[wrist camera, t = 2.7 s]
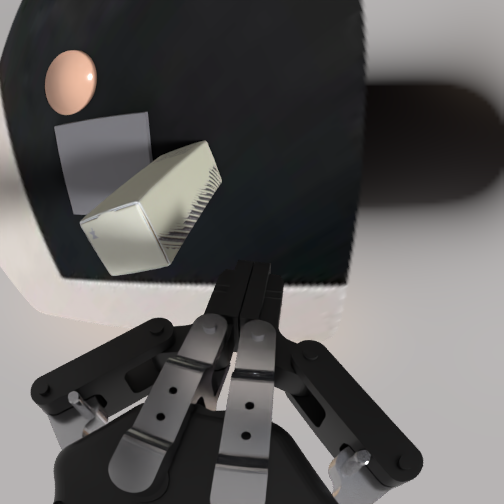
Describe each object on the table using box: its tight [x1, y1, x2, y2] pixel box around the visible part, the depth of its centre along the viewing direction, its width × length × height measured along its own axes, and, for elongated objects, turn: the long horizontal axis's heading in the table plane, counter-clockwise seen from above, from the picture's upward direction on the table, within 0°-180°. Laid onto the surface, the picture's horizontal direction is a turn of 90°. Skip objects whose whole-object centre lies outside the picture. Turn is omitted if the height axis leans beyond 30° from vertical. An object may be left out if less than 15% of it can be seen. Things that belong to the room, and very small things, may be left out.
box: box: [80, 141, 222, 276], centre depth 21 cm, size 5×4×13 cm
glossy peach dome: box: [45, 50, 97, 115], centre depth 22 cm, size 7×7×1 cm
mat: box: [54, 112, 153, 215], centre depth 27 cm, size 11×12×1 cm
